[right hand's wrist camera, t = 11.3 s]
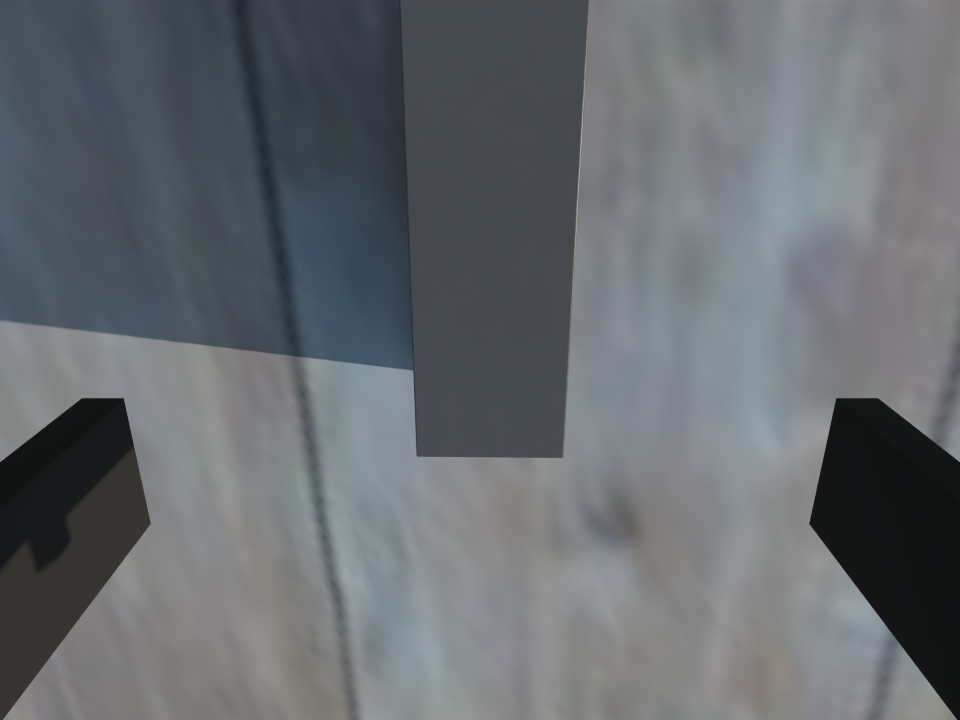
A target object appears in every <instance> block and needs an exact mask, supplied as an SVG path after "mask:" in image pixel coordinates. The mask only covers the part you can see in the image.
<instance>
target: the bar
mask: <svg viewBox="0 0 960 720" xmlns="http://www.w3.org/2000/svg"><path fill="white" fill-rule="evenodd" d="M399 5H400V32H401V58H402V84H403V110H404V136H405V162H406V189H407V215H408V241H409V267H410V293H411V319H412V346H413V372H414V398H415V424H416V450H417V456H418V457H529V458H563V454H564V437H565V420H566V403H567V386H568V369H569V352H570V335H571V318H572V300H573V283H574V266H575V249H576V232H577V215H578V198H579V181H580V164H581V147H582V130H583V113H584V95H585V78H586V61H587V44H588V27H589V10H590V0H399Z"/></svg>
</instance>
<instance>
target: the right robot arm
mask: <svg viewBox="0 0 960 720" xmlns="http://www.w3.org/2000/svg"><path fill="white" fill-rule="evenodd" d="M150 524H151V523H150V519H149V514H148V509H147V505H146V500H145V495H144V491H143V486H142V481H141V477H140V472H139V467H138V463H137V458H136V454H135V449H134V444H133V440H132V435H131V430H130V426H129V421H128V416H127V412H126V407H125V402H124V398H82V399H81V400H79V401H78V402H77V403H75V404H74V405H73V406H72V407H70V408H69V409H68V410H66V411H65V412H64V413H63V414H61V415H60V416H59V417H58V418H56V419H55V420H54V421H52V422H51V423H50V424H49V425H47V426H46V427H45V428H43V429H42V430H41V431H40V432H38V433H37V434H36V435H34V436H33V437H32V438H31V439H29V440H28V441H27V442H25V443H24V444H23V445H22V446H20V447H19V448H18V449H17V450H15V451H14V452H13V453H11V454H10V455H9V456H8V457H6V458H5V459H4V460H2V461H1V462H0V720H3V719H4V717H5V716H6V715H7V713H8V712H9V711H10V709H11V708H12V707H13V706H14V704H15V703H16V702H17V700H18V699H19V698H20V696H21V695H22V694H23V692H24V691H25V690H26V688H27V687H28V686H29V684H30V683H31V682H32V680H33V679H34V678H35V676H36V675H37V674H38V672H39V671H40V670H41V668H42V667H43V666H44V664H45V663H46V662H47V660H48V659H49V658H50V657H51V655H52V654H53V653H54V651H55V650H56V649H57V647H58V646H59V645H60V643H61V642H62V641H63V639H64V638H65V637H66V635H67V634H68V633H69V631H70V630H71V629H72V627H73V626H74V625H75V623H76V622H77V621H78V619H79V618H80V617H81V615H82V614H83V613H84V611H85V610H86V609H87V608H88V606H89V605H90V604H91V602H92V601H93V600H94V598H95V597H96V596H97V594H98V593H99V592H100V590H101V589H102V588H103V586H104V585H105V584H106V582H107V581H108V580H109V578H110V577H111V576H112V574H113V573H114V572H115V570H116V569H117V568H118V566H119V565H120V564H121V562H122V561H123V560H124V558H125V557H126V556H127V555H128V553H129V552H130V551H131V549H132V548H133V547H134V545H135V544H136V543H137V541H138V540H139V539H140V537H141V536H142V535H143V533H144V532H145V531H146V529H147V528H148V527H149V525H150ZM809 524H810V525H811V527H812V528H813V529H814V531H815V532H816V533H817V535H818V536H819V537H820V539H821V540H822V541H823V543H824V544H825V545H826V547H827V548H828V549H829V551H830V552H831V553H832V555H833V556H834V557H835V559H836V560H837V561H838V562H839V564H840V565H841V566H842V568H843V569H844V570H845V572H846V573H847V574H848V576H849V577H850V578H851V580H852V581H853V582H854V584H855V585H856V586H857V588H858V589H859V590H860V592H861V593H862V594H863V596H864V597H865V598H866V600H867V601H868V602H869V604H870V605H871V606H872V608H873V609H874V610H875V611H876V613H877V614H878V615H879V617H880V618H881V619H882V621H883V622H884V623H885V625H886V626H887V627H888V629H889V630H890V631H891V633H892V634H893V635H894V637H895V638H896V639H897V641H898V642H899V643H900V645H901V646H902V647H903V649H904V650H905V651H906V653H907V654H908V655H909V657H910V658H911V659H912V660H913V662H914V663H915V664H916V666H917V667H918V668H919V670H920V671H921V672H922V674H923V675H924V676H925V678H926V679H927V680H928V682H929V683H930V684H931V686H932V687H933V688H934V690H935V691H936V692H937V694H938V695H939V696H940V698H941V699H942V700H943V702H944V703H945V704H946V706H947V707H948V708H949V709H950V711H951V712H952V713H953V715H954V716H955V717H956V719H957V720H960V462H959V461H958V460H956V459H955V458H954V457H952V456H951V455H950V454H949V453H947V452H946V451H945V450H943V449H942V448H941V447H940V446H938V445H937V444H936V443H935V442H933V441H932V440H931V439H929V438H928V437H927V436H926V435H924V434H923V433H922V432H920V431H919V430H918V429H917V428H915V427H914V426H913V425H911V424H910V423H909V422H908V421H906V420H905V419H904V418H902V417H901V416H900V415H899V414H897V413H896V412H895V411H894V410H892V409H891V408H890V407H888V406H887V405H886V404H885V403H883V402H882V401H881V400H879V399H878V398H836V402H835V407H834V412H833V416H832V421H831V426H830V430H829V435H828V440H827V444H826V449H825V454H824V458H823V463H822V467H821V472H820V477H819V481H818V486H817V491H816V495H815V500H814V505H813V509H812V514H811V519H810V523H809Z"/></svg>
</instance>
